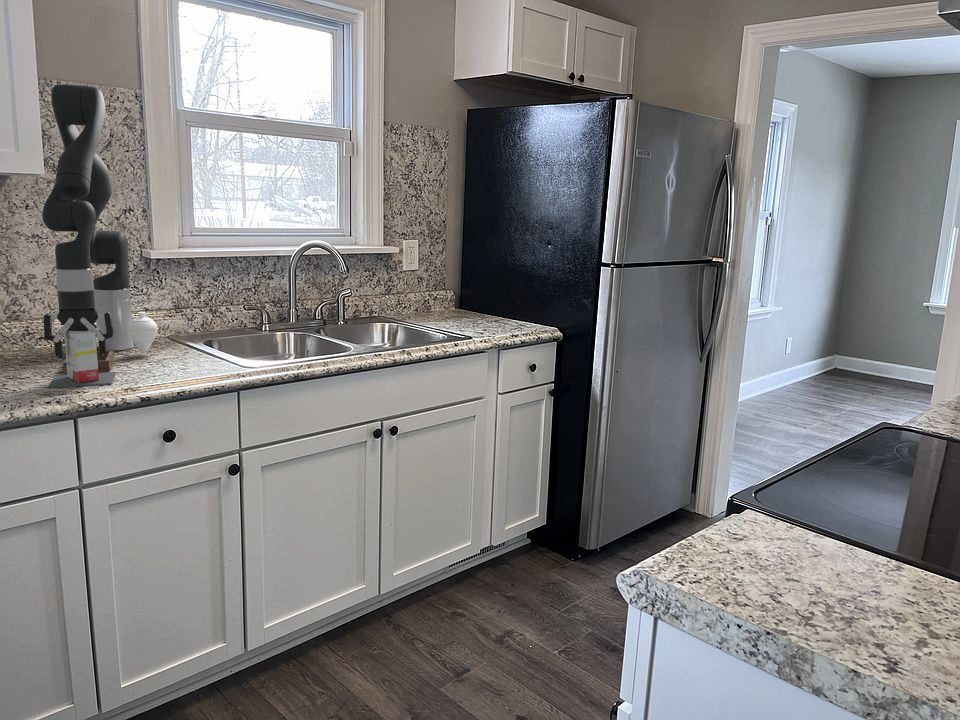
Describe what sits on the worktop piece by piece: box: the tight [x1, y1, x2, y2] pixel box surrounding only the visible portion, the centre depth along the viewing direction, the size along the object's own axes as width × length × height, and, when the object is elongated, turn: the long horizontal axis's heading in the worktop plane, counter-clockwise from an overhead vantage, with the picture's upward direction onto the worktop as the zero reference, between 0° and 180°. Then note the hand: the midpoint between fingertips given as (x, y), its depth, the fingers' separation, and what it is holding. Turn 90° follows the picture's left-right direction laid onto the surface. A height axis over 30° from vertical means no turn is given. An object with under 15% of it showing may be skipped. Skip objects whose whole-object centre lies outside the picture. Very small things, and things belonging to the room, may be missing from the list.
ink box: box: [64, 330, 99, 383], centre depth 178 cm, size 9×5×12 cm, turn 42°
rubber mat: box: [47, 371, 117, 389], centre depth 179 cm, size 12×13×1 cm
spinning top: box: [127, 311, 159, 356], centre depth 207 cm, size 8×8×12 cm
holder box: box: [62, 350, 115, 374], centre depth 191 cm, size 13×10×3 cm
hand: (81, 356), depth 178 cm, fingers open, 8 cm apart
